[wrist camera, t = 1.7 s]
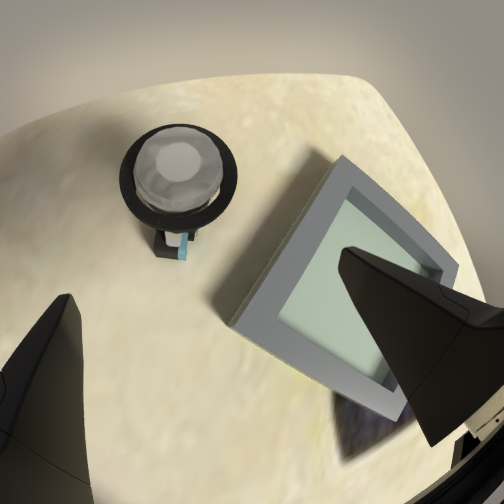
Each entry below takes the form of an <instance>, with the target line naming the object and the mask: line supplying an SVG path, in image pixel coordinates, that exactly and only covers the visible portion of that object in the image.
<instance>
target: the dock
mask: <svg viewBox="0 0 504 504" xmlns="http://www.w3.org/2000/svg"><path fill="white" fill-rule="evenodd" d="M349 246H355V247H357V248H360V249H362V250H365V251H367V252H369V253H372V254H374V255H376V256H379V257H381V258H383V259H386V260H388V261H390V262H393V263H395V264H397V265H399V266H402V267H404V268H406V269H408V270H411V271H413V272H415V273H417V274H420V275H422V276H424V277H426V278H428V279H431V280H433V281H435V282H436V283H439V284H442V285H444V286H446V287H448V288H450V289H453V285H454V282H455V278H456V275H457V271H458V267H459V264H458V263H457V262H456V261H455V260H454V259H453V258H452V257H451V256H450V254H449V253H448V252H447V251H446V250H445V249H444V248H443V247H442V246H441V245H440V244H439V243H438V242H437V240H436V239H435V238H434V237H433V236H432V235H431V234H430V233H429V232H428V231H427V230H426V229H425V228H424V227H423V226H422V225H421V224H420V223H419V222H418V221H417V220H416V219H415V218H414V217H413V216H412V215H411V214H410V213H409V212H408V211H407V210H406V209H404V208H403V207H402V206H401V205H400V204H399V203H398V202H397V201H396V200H395V199H394V198H393V197H392V196H390V195H389V194H388V193H387V192H386V191H385V190H384V189H383V188H382V187H380V186H379V185H378V184H377V183H376V182H375V181H374V180H372V179H371V178H370V177H369V176H368V175H367V174H365V173H364V172H363V171H362V170H361V169H359V168H358V167H357V166H356V165H355V164H353V163H352V162H351V161H350V160H348V159H347V158H346V157H345V156H343V155H341V156H340V157H339V158H338V159H337V160H336V161H335V162H334V163H333V164H332V165H331V166H330V167H329V168H328V169H327V171H326V173H325V174H324V176H323V177H322V179H321V181H320V182H319V184H318V185H317V187H316V189H315V190H314V192H313V193H312V195H311V197H310V198H309V200H308V201H307V203H306V204H305V206H304V208H303V209H302V211H301V212H300V214H299V216H298V217H297V219H296V220H295V222H294V223H293V225H292V227H291V228H290V230H289V231H288V233H287V234H286V236H285V237H284V239H283V241H282V242H281V244H280V245H279V247H278V248H277V250H276V251H275V253H274V255H273V256H272V258H271V259H270V261H269V262H268V264H267V265H266V267H265V269H264V270H263V272H262V273H261V275H260V276H259V278H258V279H257V281H256V282H255V284H254V285H253V287H252V288H251V290H250V292H249V293H248V295H247V296H246V298H245V299H244V301H243V302H242V304H241V305H240V307H239V308H238V310H237V311H236V313H235V314H234V316H233V317H232V319H231V320H230V322H229V323H228V325H227V327H229V328H230V329H232V330H233V331H235V332H236V333H238V334H239V335H241V336H242V337H244V338H245V339H247V340H248V341H250V342H252V343H253V344H255V345H256V346H258V347H260V348H261V349H263V350H264V351H266V352H268V353H269V354H271V355H272V356H274V357H276V358H277V359H279V360H281V361H282V362H284V363H285V364H287V365H289V366H290V367H292V368H294V369H296V370H297V371H299V372H301V373H302V374H304V375H306V376H307V377H309V378H311V379H313V380H314V381H316V382H318V383H320V384H321V385H323V386H325V387H327V388H329V389H330V390H332V391H334V392H336V393H338V394H339V395H341V396H343V397H345V398H347V399H349V400H351V401H352V402H354V403H356V404H358V405H360V406H362V407H364V408H366V409H368V410H370V411H372V412H374V413H375V414H377V415H380V416H382V417H385V418H387V419H390V420H392V421H395V422H396V421H397V419H398V417H399V415H400V414H401V412H402V410H403V408H404V406H405V404H406V402H407V399H406V397H405V395H404V394H403V392H402V390H401V388H400V386H399V384H398V382H397V380H396V379H395V377H394V375H393V373H392V371H391V369H390V368H389V366H388V364H387V362H386V360H385V359H384V357H383V355H382V353H381V351H380V350H379V348H378V346H377V344H376V343H375V341H374V339H373V337H372V336H371V334H370V332H369V330H368V329H367V327H366V325H365V324H364V322H363V320H362V319H361V317H360V315H359V313H358V312H357V310H356V308H355V306H354V304H353V302H352V300H351V298H350V296H349V294H348V292H347V290H346V287H345V285H344V283H343V281H342V279H341V277H340V275H339V273H338V263H339V259H340V255H341V251H342V249H343V248H344V247H349Z"/></svg>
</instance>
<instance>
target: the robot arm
mask: <svg viewBox="0 0 504 504" xmlns="http://www.w3.org/2000/svg"><path fill="white" fill-rule="evenodd" d="M338 273H339V275H340V277H341V279H342V281H343V283H344V285H345V287H346V290H347V292H348V294H349V296H350V298H351V300H352V302H353V304H354V306H355V308H356V310H357V312H358V313H359V315H360V317H361V319H362V320H363V322H364V324H365V325H366V327H367V329H368V330H369V332H370V334H371V336H372V337H373V339H374V341H375V343H376V344H377V346H378V348H379V350H380V351H381V353H382V355H383V357H384V359H385V360H386V362H387V364H388V366H389V368H390V369H391V371H392V373H393V375H394V377H395V379H396V380H397V382H398V384H399V386H400V388H401V390H402V392H403V394H404V395H405V397H406V399H407V400H408V403H409V405H410V407H411V409H412V411H413V413H414V415H415V417H416V419H417V421H418V423H419V425H420V427H421V429H422V431H423V433H424V435H425V437H426V439H427V441H428V443H429V445H430V447H431V448H432V447H433V446H435V445H436V444H437V443H439V442H440V441H441V440H443V439H444V438H445V437H446V436H448V435H449V434H450V433H452V432H453V431H454V430H455V429H457V428H458V427H459V426H460V425H461V424H463V423H464V424H465V425H466V427H467V428H468V431H467V432H466V433H465V434H463V435H462V436H461V437H460V438H459V439H458V440H456V441H455V445H454V452H453V458H452V464H451V470H450V471H448V472H447V473H446V474H445V475H443V476H442V477H441V478H440V479H438V480H437V481H436V482H434V483H433V484H432V485H430V486H429V487H428V488H426V489H425V490H424V491H422V492H421V493H419V494H418V495H416V496H415V497H414V498H412V499H411V500H409V501H408V502H406V503H404V504H504V308H498V307H494V306H491V305H489V304H486V303H484V302H482V301H479V300H477V299H474V298H472V297H469V296H467V295H464V294H462V293H460V292H457V291H455V290H453V289H450V288H448V287H446V286H444V285H442V284H439V283H436V282H435V281H433V280H431V279H428V278H426V277H424V276H422V275H420V274H417V273H415V272H413V271H411V270H408V269H406V268H404V267H402V266H399V265H397V264H395V263H393V262H390V261H388V260H386V259H383V258H381V257H379V256H376V255H374V254H372V253H369V252H367V251H365V250H362V249H360V248H357V247H355V246H349V247H344V248H343V249H342V251H341V255H340V259H339V263H338ZM83 370H84V361H83V345H82V322H81V314H80V312H79V309H78V307H77V305H76V303H75V301H74V298H73V296H72V295H71V294H69V293H68V294H61V295H59V296H58V297H57V298H56V299H55V300H54V301H53V302H52V304H51V305H50V306H49V307H48V308H47V310H46V311H45V312H44V313H43V315H42V316H41V317H40V318H39V320H38V321H37V322H36V323H35V325H34V326H33V327H32V328H31V330H30V331H29V332H28V334H27V335H26V336H25V338H24V339H23V340H22V342H21V343H20V344H19V346H18V347H17V348H16V350H15V351H14V352H13V354H12V355H11V357H10V358H9V359H8V361H7V362H6V364H5V365H4V367H3V368H2V370H1V371H2V372H1V371H0V504H94V501H93V496H92V490H91V486H90V485H91V484H90V478H89V470H88V462H87V452H86V441H85V427H84V402H83Z"/></svg>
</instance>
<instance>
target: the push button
mask: <svg viewBox="0 0 504 504" xmlns="http://www.w3.org/2000/svg"><path fill="white" fill-rule="evenodd" d="M237 177H238V176H237V166H236V162H235V159H234V157H233V154H232V153H231V151H230V149H229V148H228V146H227V145H226V144H225V143H224V142H223V141H222V140H221V139H220V138H219V137H218V136H216V135H215V134H213V133H212V132H210V131H208V130H206V129H204V128H201V127H198V126H195V125H189V124H170V125H165V126H161V127H158V128H156V129H153V130H151V131H149V132H147V133H146V134H144V135H143V136H141V137H140V138H139V139H138V140H137V141H136V142H135V143H134V144H133V145H132V146H131V147H130V148H129V150H128V151H127V153H126V155H125V157H124V159H123V161H122V164H121V168H120V174H119V184H120V190H121V193H122V196H123V198H124V201H125V203H126V205H127V206H128V208H129V210H130V211H131V212H132V213H133V214H134V215H135V216H136V217H137V218H138V219H139V220H140V221H141V222H143V223H145V224H146V225H148V226H150V227H152V228H155V229H156V236H155V243H154V252H155V255H156V257H161V258H169V259H177V260H185V261H186V252H187V251H186V248H187V240H188V241H194V237H195V232H196V231H197V234H196V236H198V231H199V228H201V227H203V226H205V225H207V224H209V223H211V222H212V221H214V220H215V219H216V218H217V217H219V216H220V215H221V214H222V213H223V212H224V210H225V209H226V208H227V206H228V205H229V203H230V201H231V199H232V197H233V195H234V192H235V189H236V185H237ZM219 186H220V193H219V195H218V196H217V198H216V199H215V200H214V201H213V202H212V203H211V204H210V205H209V206H208V203H209V201H210V199H211V197H212V196H214V195H215V193H216V192H217V190H218V188H219ZM136 188H137V189H138V191H139V192H140V194H141V195H142V196H143V198H144V201H145V204H146V205H147V206H148V207H149V208H148V207H147V206H145V205H144V204H143V203H142V202H141V200H140V199H139V198H138V196H137V195H136ZM207 206H208V207H207Z"/></svg>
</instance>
